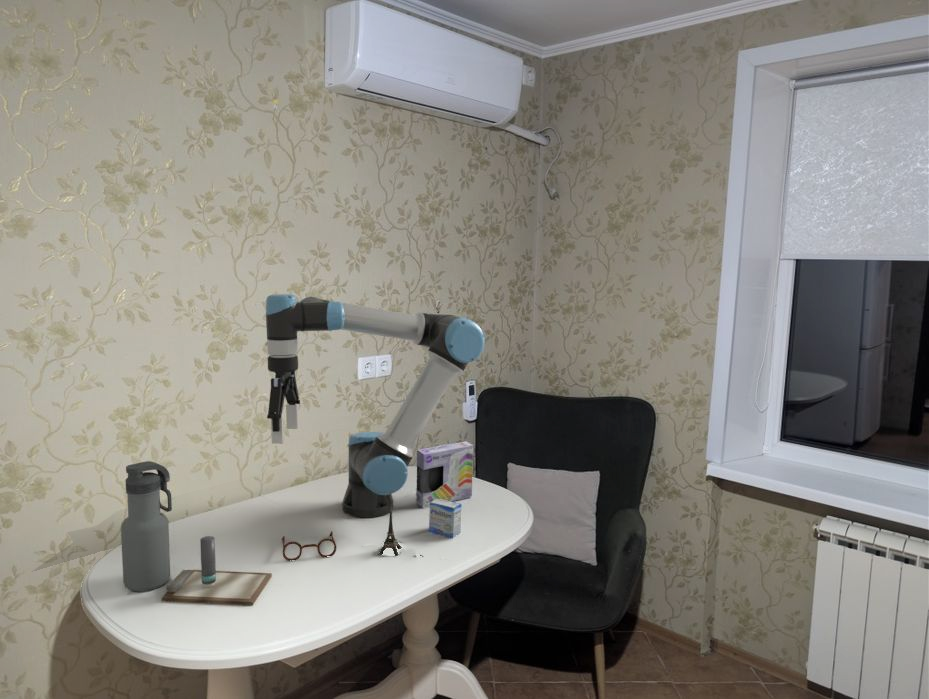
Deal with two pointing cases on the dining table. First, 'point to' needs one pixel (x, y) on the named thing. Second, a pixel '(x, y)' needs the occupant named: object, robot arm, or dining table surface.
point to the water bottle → (146, 528)
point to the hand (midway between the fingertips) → (285, 435)
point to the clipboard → (217, 588)
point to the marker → (208, 561)
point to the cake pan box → (444, 473)
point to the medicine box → (445, 518)
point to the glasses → (309, 546)
